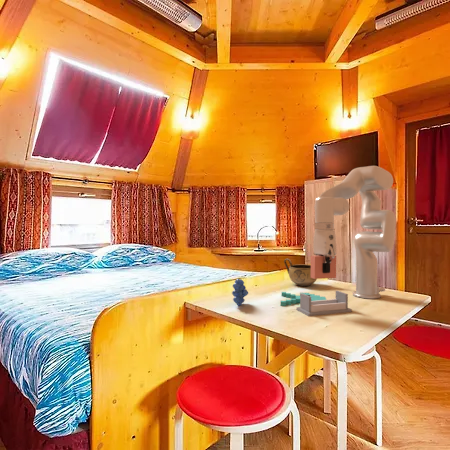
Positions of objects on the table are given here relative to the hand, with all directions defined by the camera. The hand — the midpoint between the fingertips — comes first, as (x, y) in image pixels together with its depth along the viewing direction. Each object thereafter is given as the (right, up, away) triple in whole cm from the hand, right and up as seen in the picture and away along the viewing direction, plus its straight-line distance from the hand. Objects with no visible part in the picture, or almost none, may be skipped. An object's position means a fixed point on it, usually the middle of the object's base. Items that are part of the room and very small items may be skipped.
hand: (323, 271), depth 129 cm
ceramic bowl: (+5, -16, +52) cm, 54 cm away
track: (0, -16, 0) cm, 16 cm away
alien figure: (-4, -17, +16) cm, 23 cm away
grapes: (-33, -16, +8) cm, 38 cm away
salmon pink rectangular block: (0, -2, 0) cm, 2 cm away
